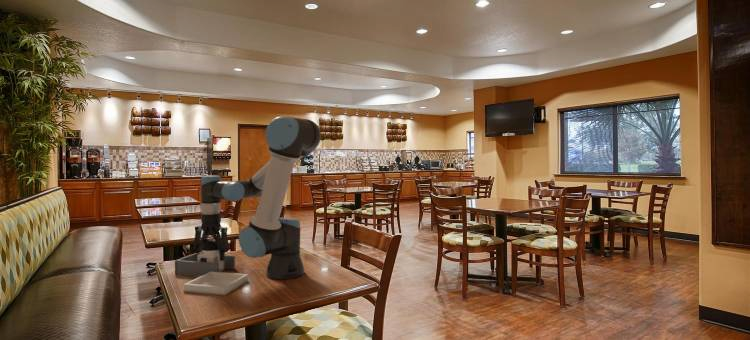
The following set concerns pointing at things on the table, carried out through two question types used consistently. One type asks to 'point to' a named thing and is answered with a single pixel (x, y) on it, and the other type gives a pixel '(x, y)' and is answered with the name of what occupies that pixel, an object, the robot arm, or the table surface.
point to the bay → (200, 265)
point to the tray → (216, 283)
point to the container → (210, 253)
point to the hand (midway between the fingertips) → (211, 267)
